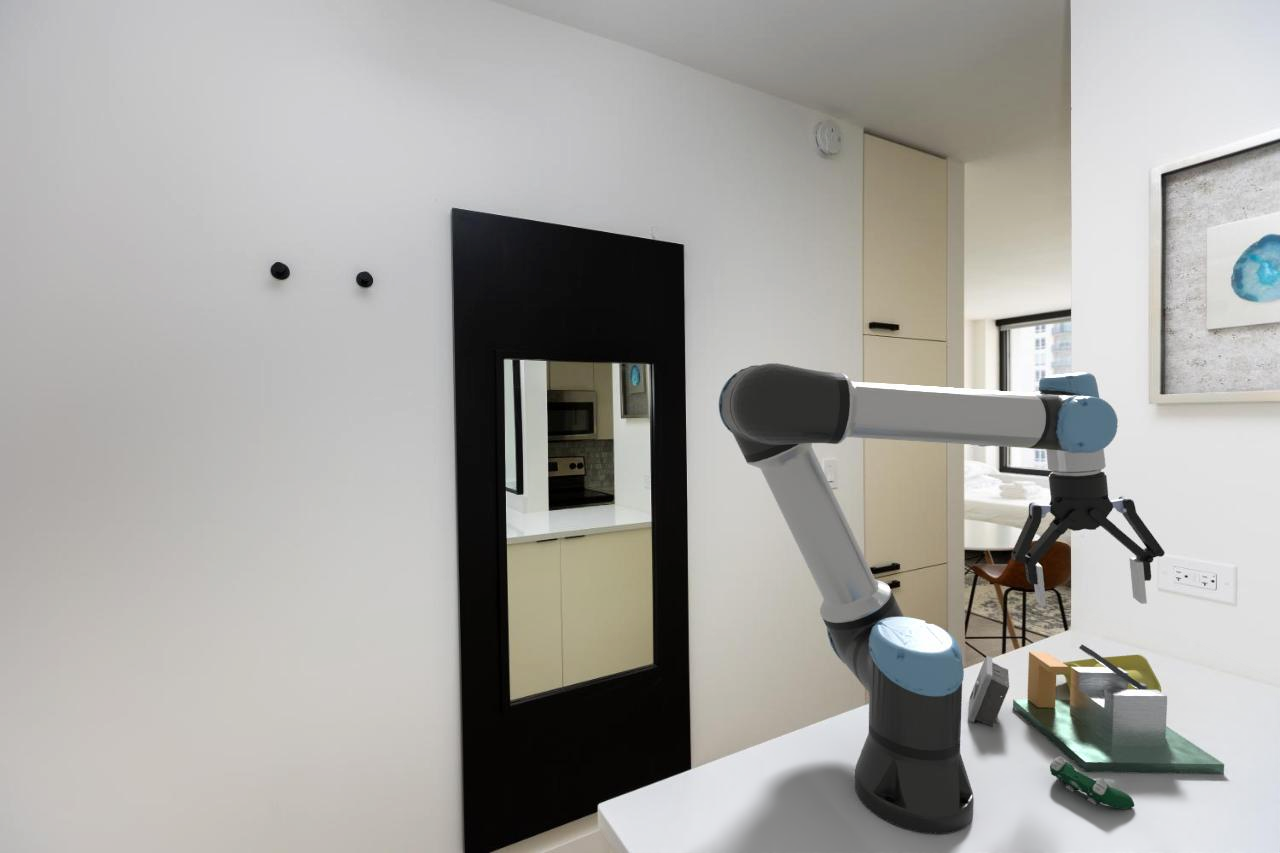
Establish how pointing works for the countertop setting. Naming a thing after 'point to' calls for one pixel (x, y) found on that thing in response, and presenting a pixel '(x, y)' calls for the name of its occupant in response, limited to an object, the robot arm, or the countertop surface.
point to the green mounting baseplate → (1116, 728)
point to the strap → (1112, 668)
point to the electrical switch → (988, 693)
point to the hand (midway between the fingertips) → (1089, 602)
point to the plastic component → (1129, 663)
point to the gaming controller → (1090, 786)
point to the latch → (1043, 678)
